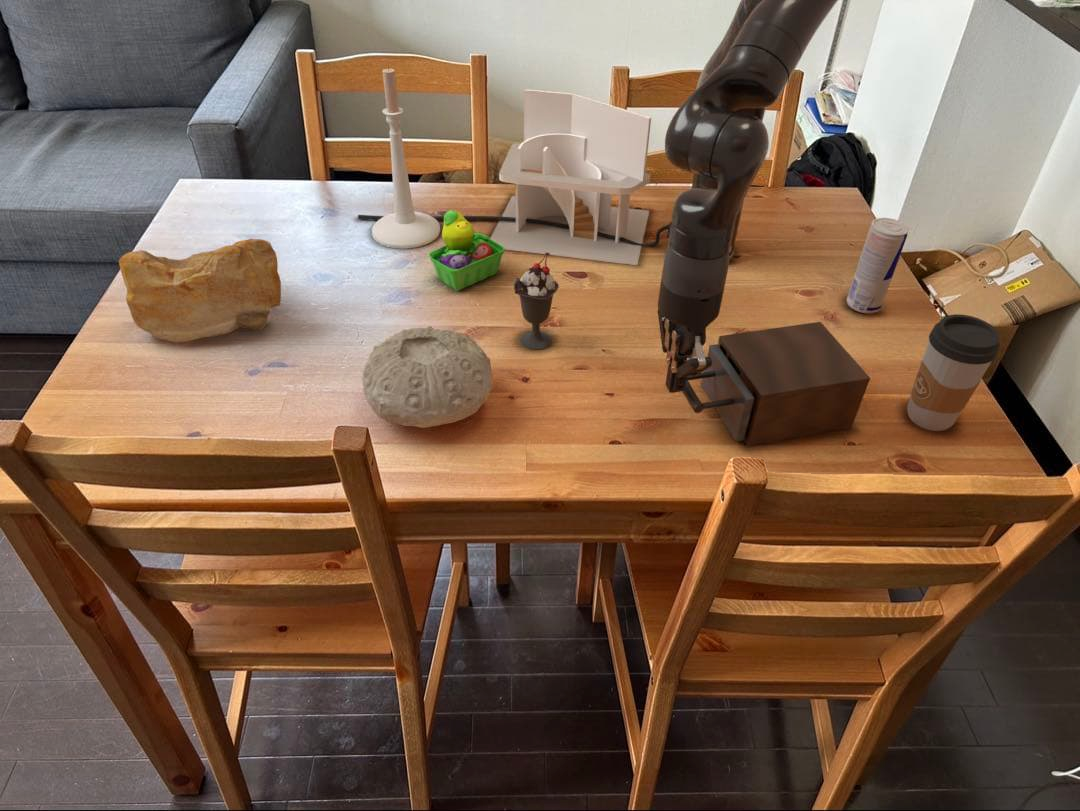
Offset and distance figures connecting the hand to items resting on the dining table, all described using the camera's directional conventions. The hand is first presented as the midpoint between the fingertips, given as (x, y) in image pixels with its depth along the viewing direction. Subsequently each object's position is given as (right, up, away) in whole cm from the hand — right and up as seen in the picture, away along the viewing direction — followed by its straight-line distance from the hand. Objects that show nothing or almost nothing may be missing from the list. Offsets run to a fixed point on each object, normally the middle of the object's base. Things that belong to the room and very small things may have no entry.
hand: (674, 388), depth 105 cm
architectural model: (-12, +32, +46) cm, 57 cm away
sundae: (-19, +8, +19) cm, 27 cm away
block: (+12, -2, +5) cm, 13 cm away
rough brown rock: (-69, +12, +22) cm, 73 cm away
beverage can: (+36, +14, +27) cm, 47 cm away
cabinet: (+16, -3, +7) cm, 18 cm away
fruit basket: (-31, +20, +33) cm, 49 cm away
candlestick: (-43, +31, +44) cm, 69 cm away
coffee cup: (+37, -4, +6) cm, 38 cm away
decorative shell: (-33, -2, +7) cm, 34 cm away
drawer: (+11, -3, +6) cm, 13 cm away
